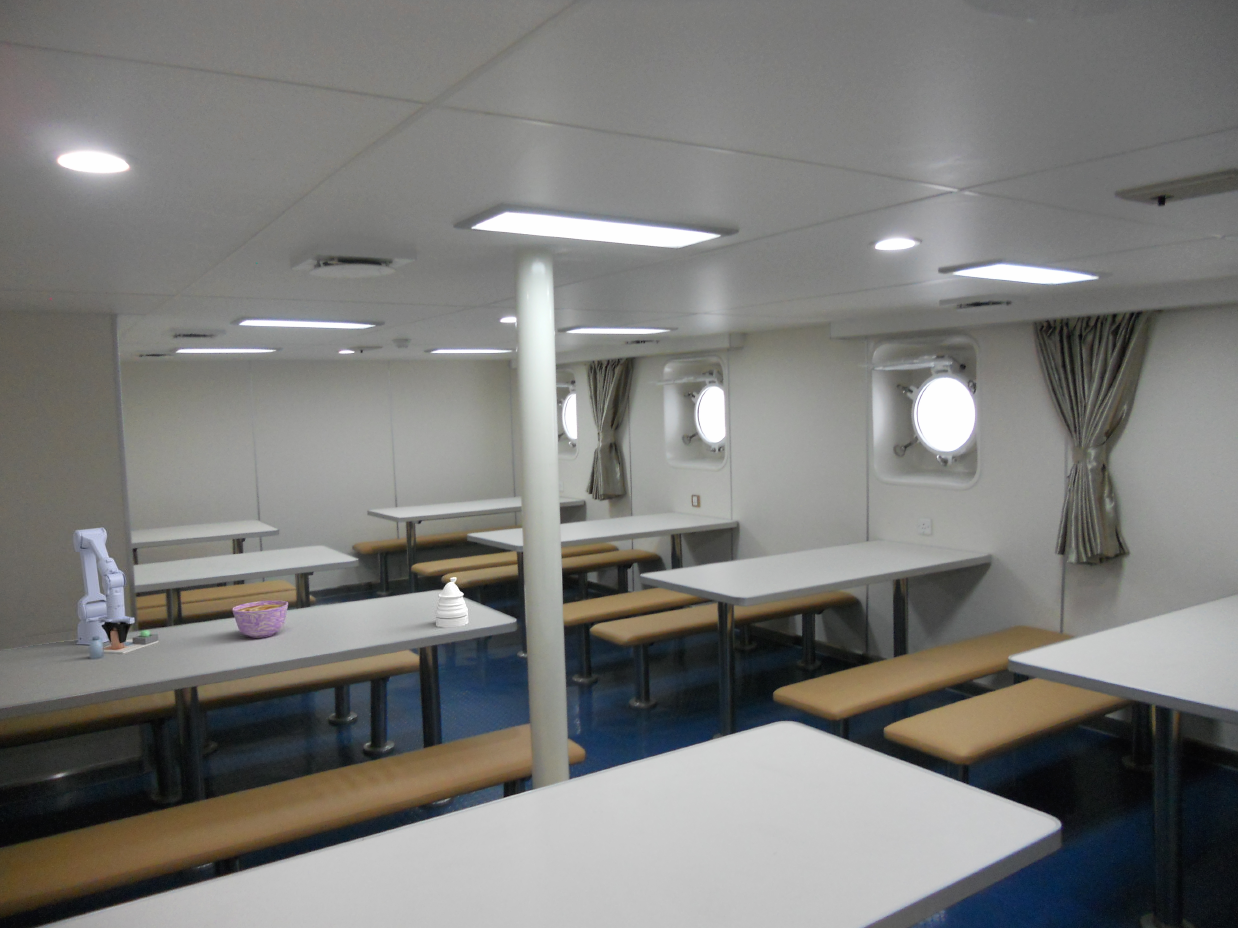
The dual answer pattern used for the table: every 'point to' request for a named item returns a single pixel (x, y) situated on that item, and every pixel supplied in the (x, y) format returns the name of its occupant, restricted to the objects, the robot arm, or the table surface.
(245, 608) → the bowl of food
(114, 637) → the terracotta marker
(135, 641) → the picture board
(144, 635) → the button
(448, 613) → the honey pot
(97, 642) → the slate marker
